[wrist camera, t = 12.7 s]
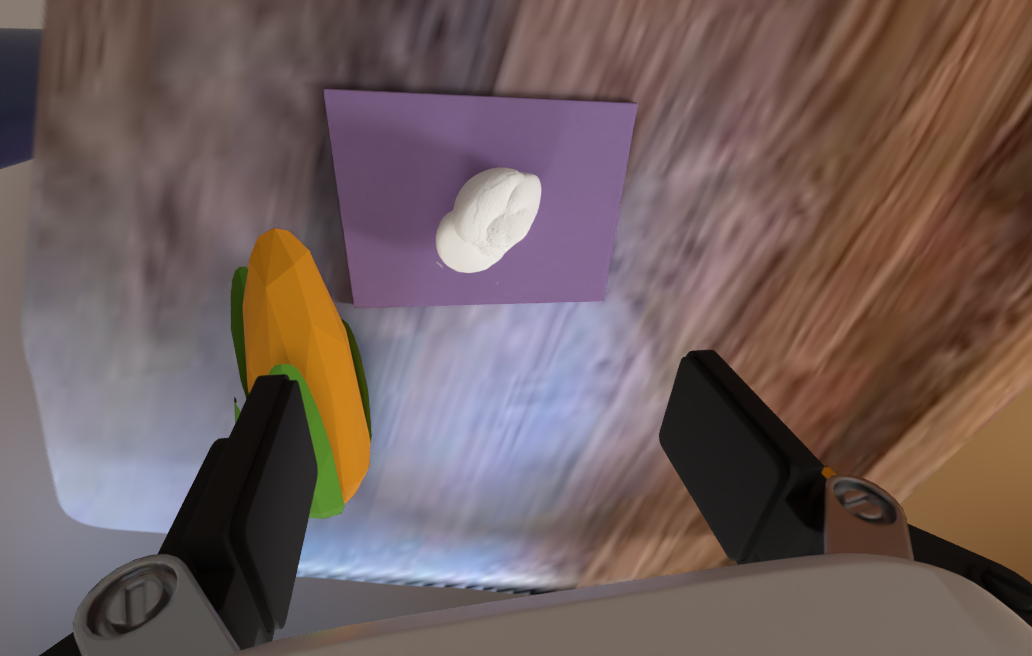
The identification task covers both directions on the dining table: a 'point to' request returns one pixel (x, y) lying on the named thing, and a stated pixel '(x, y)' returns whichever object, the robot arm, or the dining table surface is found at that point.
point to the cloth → (443, 172)
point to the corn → (304, 359)
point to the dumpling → (488, 218)
